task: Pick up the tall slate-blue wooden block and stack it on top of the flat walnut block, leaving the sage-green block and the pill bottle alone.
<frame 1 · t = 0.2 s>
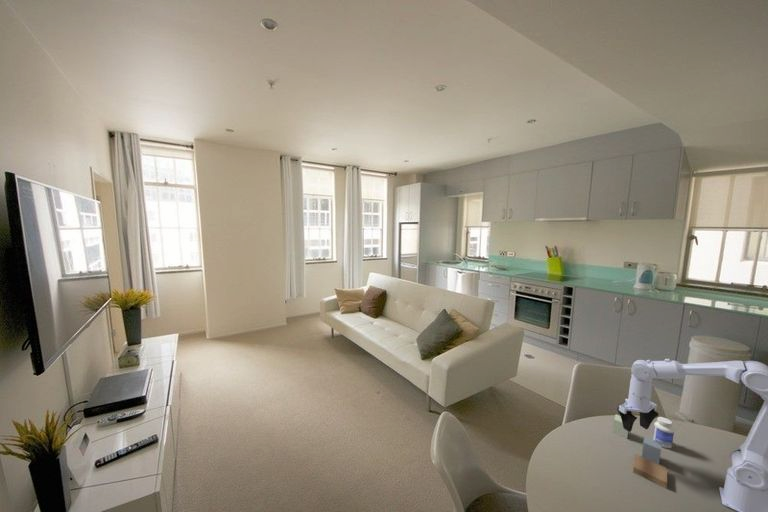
hand: (635, 428, 101), 10 cm above the table, fingers open, 7 cm apart
sage block: (620, 433, 112), on the table
walnut block: (649, 474, 94), on the table
slate block: (650, 457, 100), on the table
pill bottle: (661, 443, 107), on the table
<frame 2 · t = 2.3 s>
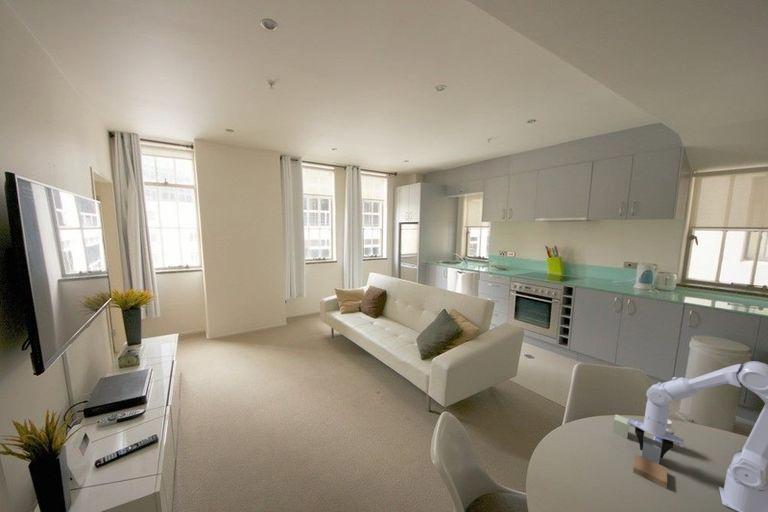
hand: (650, 452, 100), 2 cm above the table, fingers closed on slate block, 4 cm apart
slate block: (650, 457, 100), on the table, touching gripper
everything else where it was.
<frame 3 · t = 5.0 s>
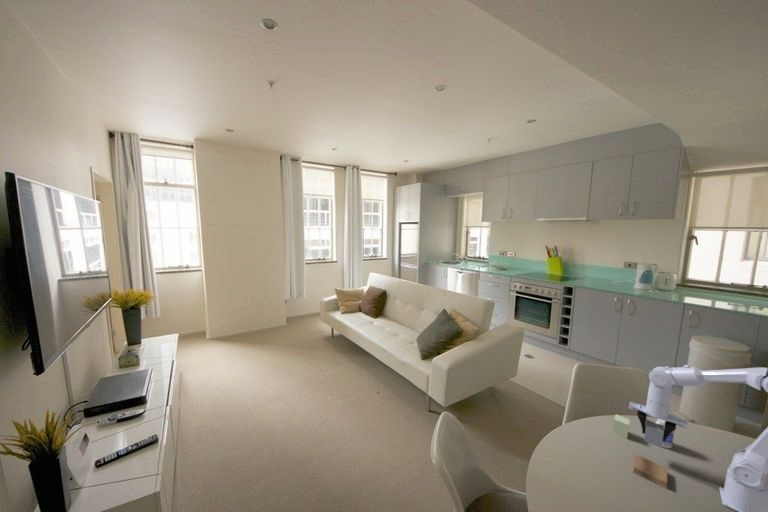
hand: (653, 436, 99), 9 cm above the table, fingers closed on slate block, 4 cm apart
slate block: (652, 440, 99), point 7 cm above the table, touching gripper
everything else where it was.
when the fingers open (5 cm above the table, at t = 7.7 s): slate block drops 2 cm, point 2 cm above the table.
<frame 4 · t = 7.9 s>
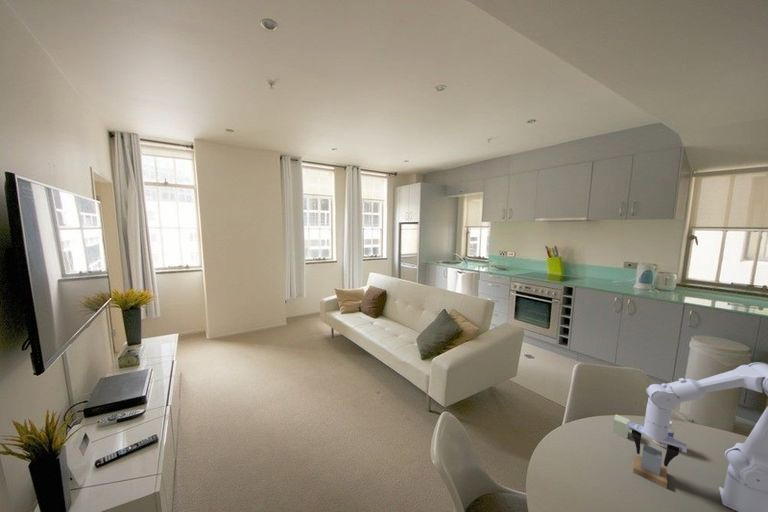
hand: (651, 458, 93), 5 cm above the table, fingers open, 6 cm apart
slate block: (650, 467, 94), point 2 cm above the table
everything else where it was.
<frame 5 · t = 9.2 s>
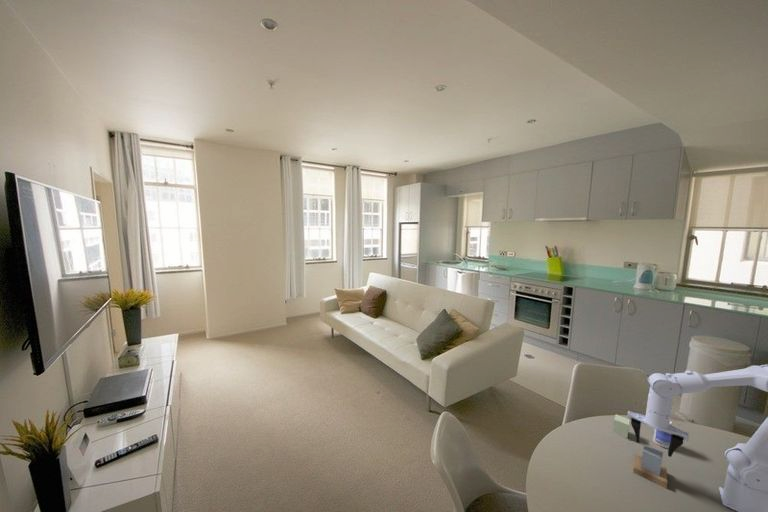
hand: (653, 447, 93), 9 cm above the table, fingers open, 7 cm apart
nothing on the table moved.
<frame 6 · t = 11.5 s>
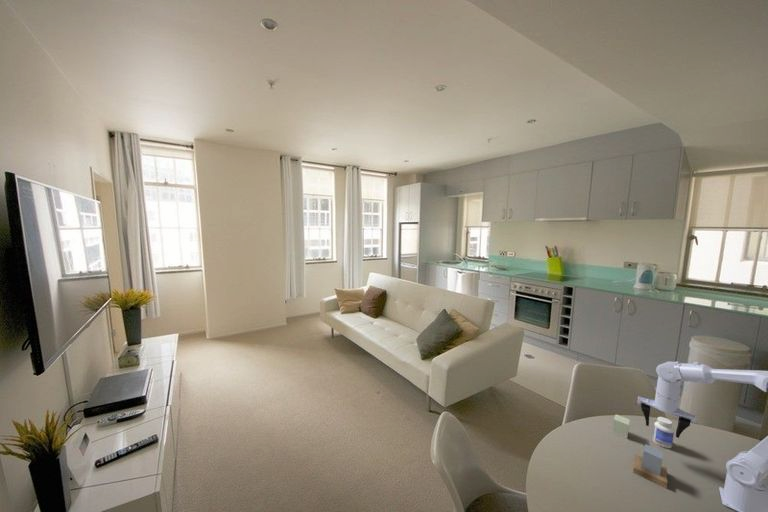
hand: (661, 430, 100), 10 cm above the table, fingers open, 7 cm apart
walnut block: (649, 474, 94), on the table, touching slate block
slate block: (651, 467, 94), point 2 cm above the table, touching walnut block
everything else where it was.
at the end: slate block 0.5 cm off-centre on the walnut block, point 2.5 cm above the walnut block's base; slate block tilted 0°; the gripper is holding nothing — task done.
